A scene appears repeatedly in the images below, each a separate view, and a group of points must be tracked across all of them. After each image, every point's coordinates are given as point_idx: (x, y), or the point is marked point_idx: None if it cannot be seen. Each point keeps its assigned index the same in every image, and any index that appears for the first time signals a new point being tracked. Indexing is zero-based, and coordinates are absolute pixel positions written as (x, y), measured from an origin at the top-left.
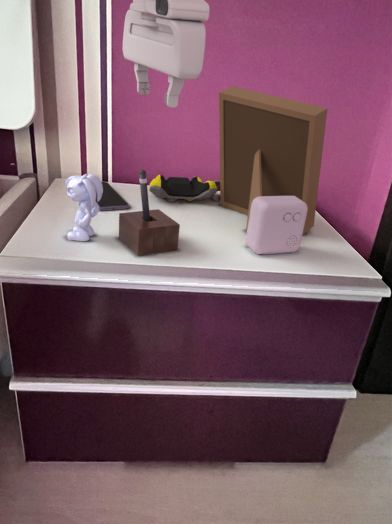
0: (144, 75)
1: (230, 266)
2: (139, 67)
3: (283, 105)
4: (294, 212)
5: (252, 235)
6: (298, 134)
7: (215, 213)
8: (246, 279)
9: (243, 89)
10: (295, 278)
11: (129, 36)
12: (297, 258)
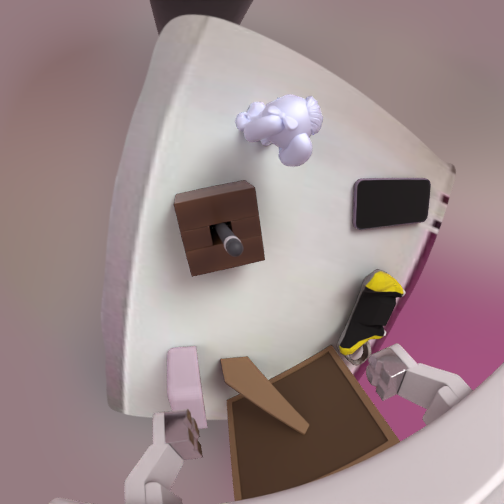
0: (420, 396)
1: (137, 309)
2: (440, 402)
3: None
4: None
5: (181, 358)
6: (254, 483)
7: (309, 335)
8: (103, 314)
9: None
10: (112, 360)
11: None
12: (163, 379)
